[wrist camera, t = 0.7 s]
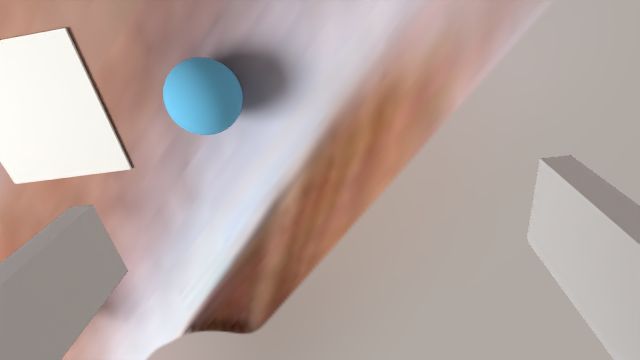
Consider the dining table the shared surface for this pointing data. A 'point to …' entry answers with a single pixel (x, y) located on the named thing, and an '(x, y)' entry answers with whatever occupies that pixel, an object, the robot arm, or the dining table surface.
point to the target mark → (52, 112)
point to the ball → (203, 96)
